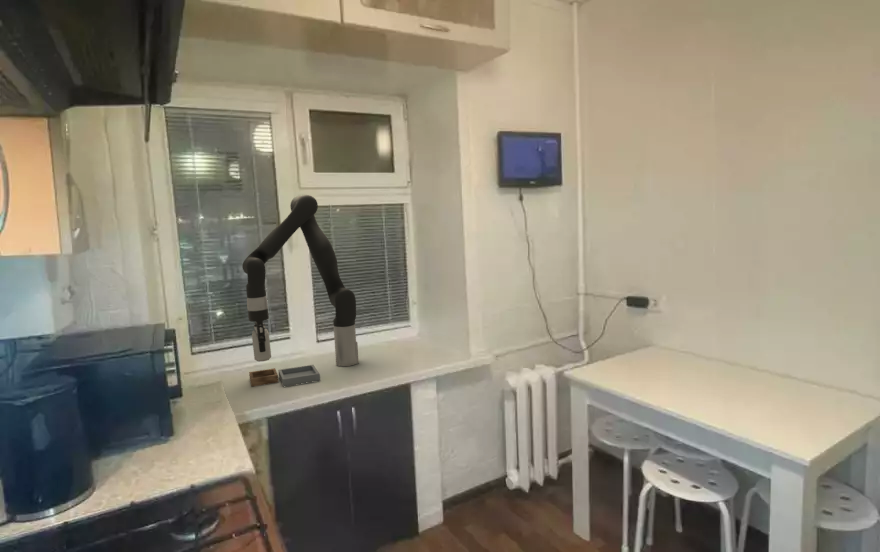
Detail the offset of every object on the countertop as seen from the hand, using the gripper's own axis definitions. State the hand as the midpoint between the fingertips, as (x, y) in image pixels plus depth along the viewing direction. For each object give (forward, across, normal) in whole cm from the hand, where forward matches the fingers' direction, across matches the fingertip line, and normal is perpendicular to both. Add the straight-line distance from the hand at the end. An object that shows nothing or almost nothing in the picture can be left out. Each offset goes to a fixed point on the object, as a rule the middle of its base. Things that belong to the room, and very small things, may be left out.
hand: (261, 349), depth 203 cm
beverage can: (+4, 0, 0) cm, 4 cm away
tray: (+13, -5, -13) cm, 19 cm away
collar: (+13, 0, 0) cm, 13 cm away
